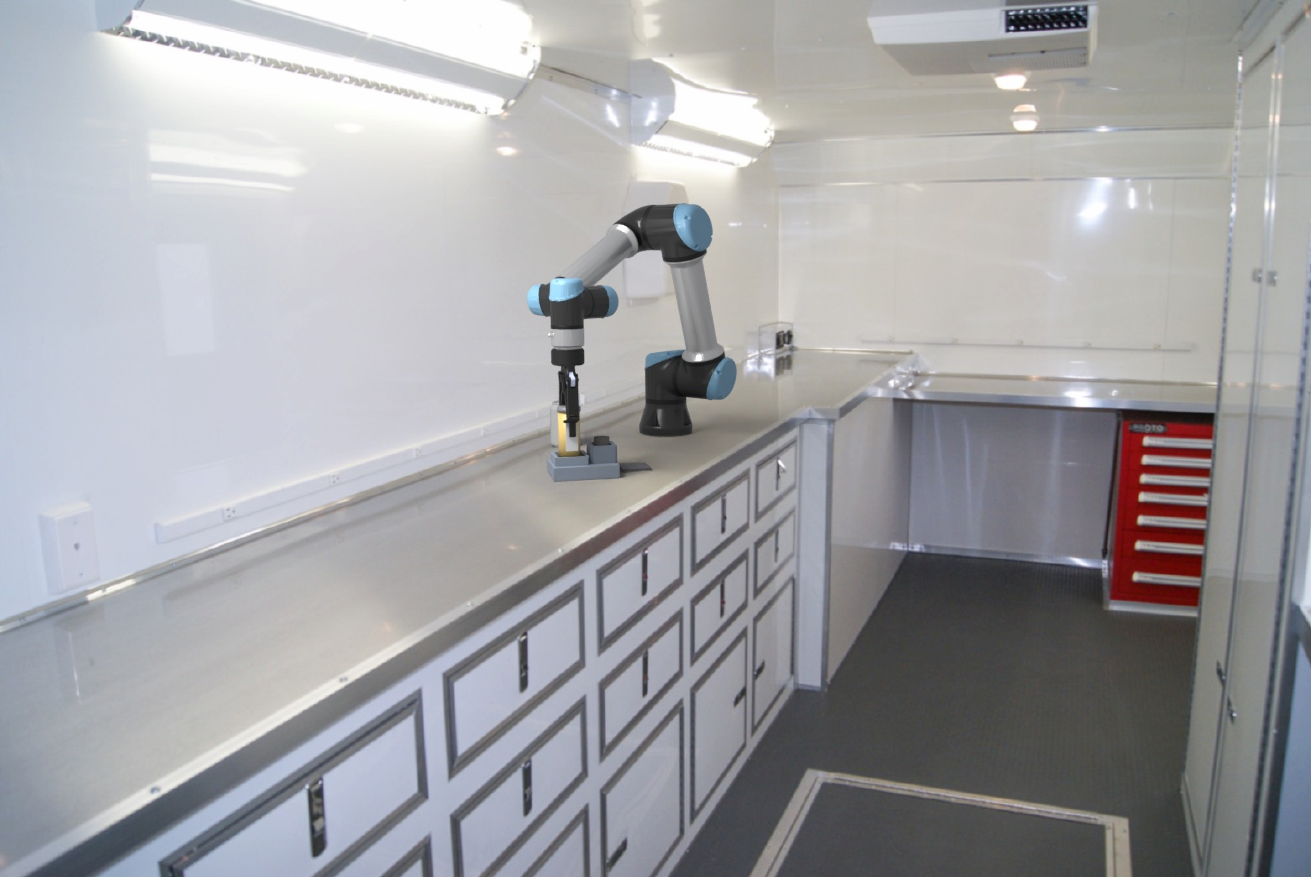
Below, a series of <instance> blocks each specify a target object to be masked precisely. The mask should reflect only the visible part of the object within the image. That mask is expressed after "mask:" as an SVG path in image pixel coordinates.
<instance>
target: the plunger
mask: <svg viewBox="0 0 1311 877" xmlns="http://www.w3.org/2000/svg"><path fill="white" fill-rule="evenodd" d="M609 441H610V436H609V435H595V436H593V442H594V446H605V445H609Z"/></svg>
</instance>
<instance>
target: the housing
mask: <svg viewBox="0 0 1311 877" xmlns="http://www.w3.org/2000/svg"><path fill="white" fill-rule="evenodd" d="M585 447H586V451H585V450H581V449H580V450H581V456H575V457H559V450H558V451H557V450H555V451H550V458H547V459H546V469H547V470H546V471H547V473H548V475H549V477H551V479H552V480H553V482H554V483H557V482H572V481H588V480H591V481H592V480H605V479H606V480H607V479H620V478H621V477H620V476H621V475H620V471H621V470H620V467H619V464H618V445H617V444H616V443H615V442H614V441H612V440H611V441H610V440H609V445H605V446H594V441H588V442H587V441H586V446H585Z"/></svg>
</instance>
